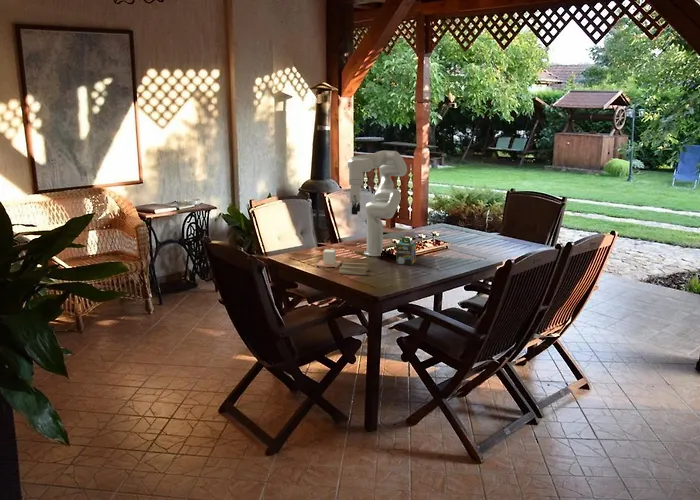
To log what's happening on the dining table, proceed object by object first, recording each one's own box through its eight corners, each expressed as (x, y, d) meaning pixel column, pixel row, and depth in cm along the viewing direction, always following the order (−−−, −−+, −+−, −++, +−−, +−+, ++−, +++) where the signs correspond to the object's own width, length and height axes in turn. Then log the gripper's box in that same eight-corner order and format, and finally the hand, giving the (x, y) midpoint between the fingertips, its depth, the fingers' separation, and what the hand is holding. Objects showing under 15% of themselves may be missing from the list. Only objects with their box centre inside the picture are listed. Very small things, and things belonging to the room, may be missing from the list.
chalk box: (415, 261, 369) (416, 236, 366) (411, 265, 361) (412, 239, 357) (400, 260, 372) (400, 234, 369) (395, 264, 364) (396, 238, 360)
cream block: (325, 261, 365) (324, 249, 363) (335, 261, 364) (335, 249, 362) (323, 264, 359) (323, 251, 357) (334, 264, 358) (333, 252, 357)
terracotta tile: (320, 261, 368) (320, 259, 368) (341, 262, 367) (341, 260, 366) (315, 267, 357) (315, 265, 357) (337, 267, 355) (337, 266, 355)
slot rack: (342, 268, 353) (342, 262, 352) (367, 270, 351) (368, 263, 350) (339, 273, 344) (339, 267, 343) (365, 274, 342) (365, 268, 341)
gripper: (351, 180, 365) (351, 210, 369) (346, 184, 349) (346, 215, 353) (364, 180, 364) (364, 210, 368) (360, 184, 347) (360, 215, 351)
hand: (355, 212), depth 360 cm, fingers open, 9 cm apart
